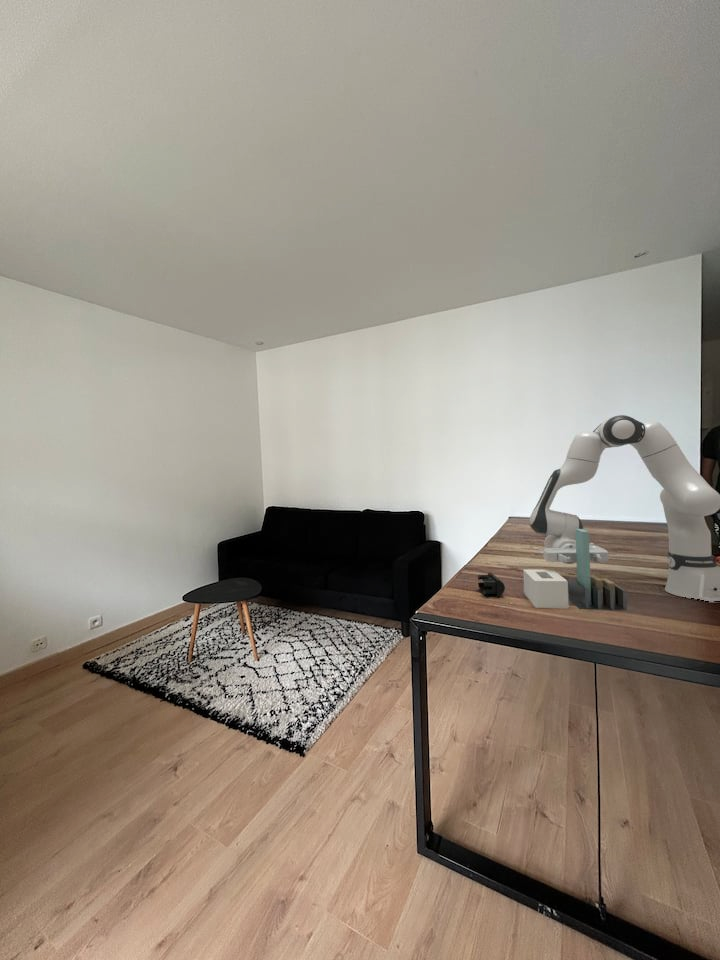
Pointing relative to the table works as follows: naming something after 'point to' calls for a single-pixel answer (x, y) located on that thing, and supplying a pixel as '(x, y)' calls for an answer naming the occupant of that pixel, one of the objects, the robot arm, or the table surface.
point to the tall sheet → (583, 559)
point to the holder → (545, 588)
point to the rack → (597, 597)
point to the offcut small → (609, 585)
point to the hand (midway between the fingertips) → (583, 560)
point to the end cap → (490, 585)
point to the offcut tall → (597, 584)
